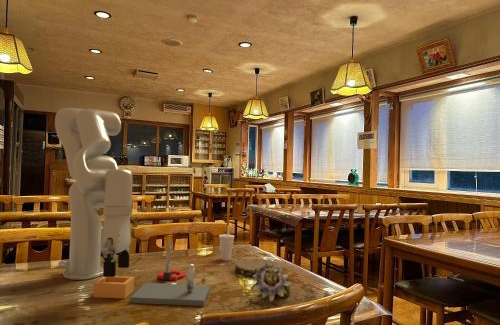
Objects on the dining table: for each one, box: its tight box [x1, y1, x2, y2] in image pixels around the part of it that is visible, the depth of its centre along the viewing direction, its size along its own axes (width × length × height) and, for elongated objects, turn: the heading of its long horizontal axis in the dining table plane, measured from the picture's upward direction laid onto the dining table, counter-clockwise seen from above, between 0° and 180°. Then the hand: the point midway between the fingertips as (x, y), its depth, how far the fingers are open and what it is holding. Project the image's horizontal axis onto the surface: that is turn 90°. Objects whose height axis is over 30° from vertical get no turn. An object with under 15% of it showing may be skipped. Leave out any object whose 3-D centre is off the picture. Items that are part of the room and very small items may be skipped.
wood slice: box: [235, 258, 280, 279], centre depth 127 cm, size 16×16×3 cm
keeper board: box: [130, 282, 211, 307], centre depth 100 cm, size 20×12×2 cm, turn 88°
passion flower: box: [250, 261, 292, 303], centre depth 103 cm, size 11×11×12 cm
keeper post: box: [186, 263, 195, 292], centre depth 100 cm, size 2×2×8 cm
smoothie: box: [218, 224, 235, 262], centre depth 143 cm, size 6×6×14 cm
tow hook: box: [156, 240, 185, 282], centre depth 119 cm, size 8×13×9 cm
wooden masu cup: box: [92, 275, 135, 300], centre depth 101 cm, size 9×7×4 cm
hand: (116, 271), depth 100 cm, fingers open, 9 cm apart
